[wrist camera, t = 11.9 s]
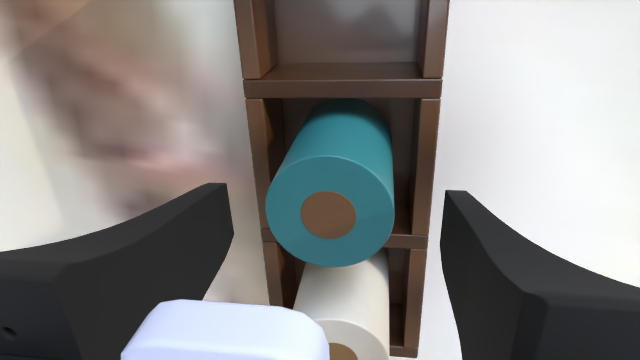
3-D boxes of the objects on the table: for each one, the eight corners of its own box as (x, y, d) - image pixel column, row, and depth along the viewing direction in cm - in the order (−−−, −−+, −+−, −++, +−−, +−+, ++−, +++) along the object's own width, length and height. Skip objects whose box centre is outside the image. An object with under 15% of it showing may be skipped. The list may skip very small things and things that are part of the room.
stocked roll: (387, 291, 23) (387, 401, 17) (310, 286, 23) (286, 390, 18) (390, 226, 21) (391, 323, 15) (306, 222, 22) (278, 315, 16)
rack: (413, 308, 24) (417, 359, 21) (288, 299, 25) (274, 347, 22) (448, -130, 15) (464, -157, 12) (249, -116, 16) (216, -136, 13)
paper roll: (390, 184, 20) (392, 271, 14) (303, 181, 21) (270, 264, 15) (393, 97, 18) (397, 157, 12) (297, 96, 19) (258, 154, 13)
